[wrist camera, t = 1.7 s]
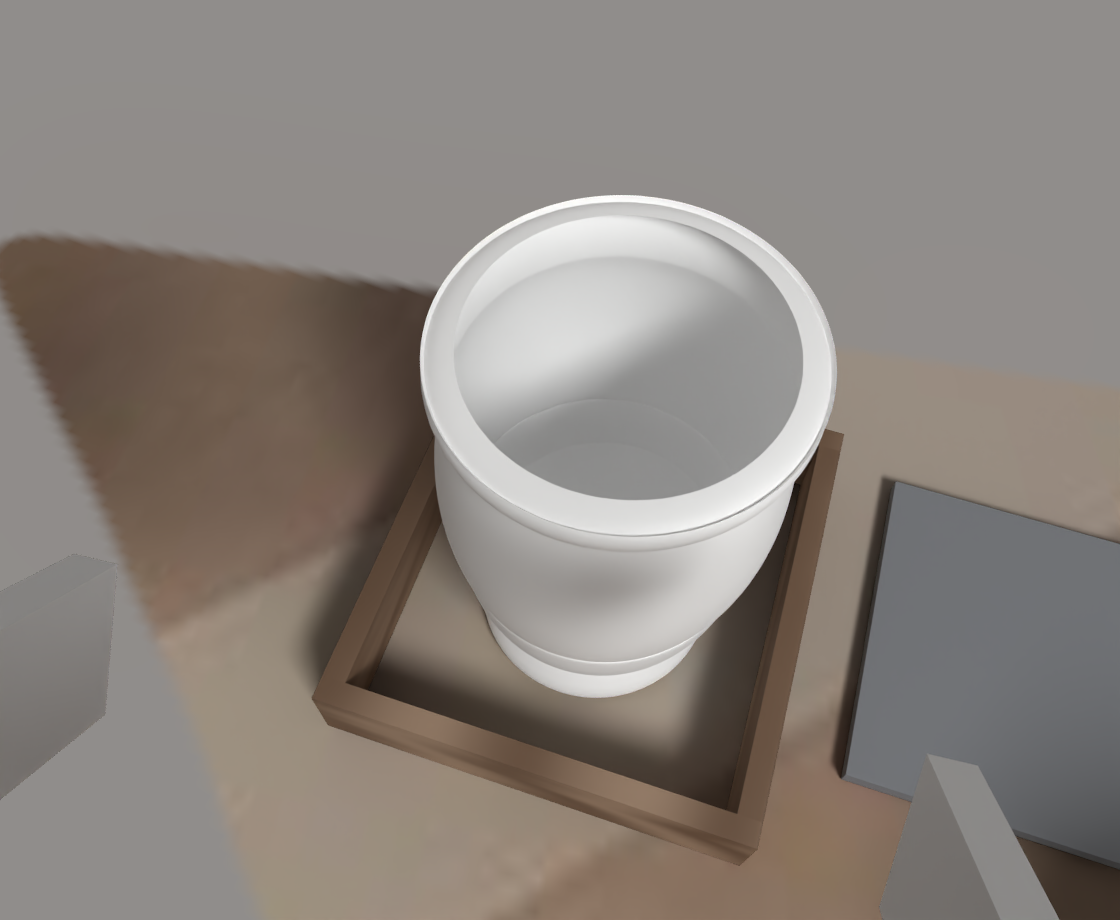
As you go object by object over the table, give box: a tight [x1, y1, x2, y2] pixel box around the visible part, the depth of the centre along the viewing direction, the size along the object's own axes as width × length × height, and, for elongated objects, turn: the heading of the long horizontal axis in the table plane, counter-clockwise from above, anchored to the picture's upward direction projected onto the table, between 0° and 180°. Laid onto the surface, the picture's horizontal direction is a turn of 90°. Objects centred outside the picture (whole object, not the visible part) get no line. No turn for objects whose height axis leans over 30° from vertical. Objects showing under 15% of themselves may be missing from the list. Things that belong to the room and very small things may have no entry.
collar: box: [312, 429, 844, 866], centre depth 36 cm, size 15×16×3 cm
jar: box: [420, 195, 837, 698], centre depth 31 cm, size 11×10×15 cm
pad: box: [841, 481, 1120, 869], centre depth 36 cm, size 12×12×1 cm
